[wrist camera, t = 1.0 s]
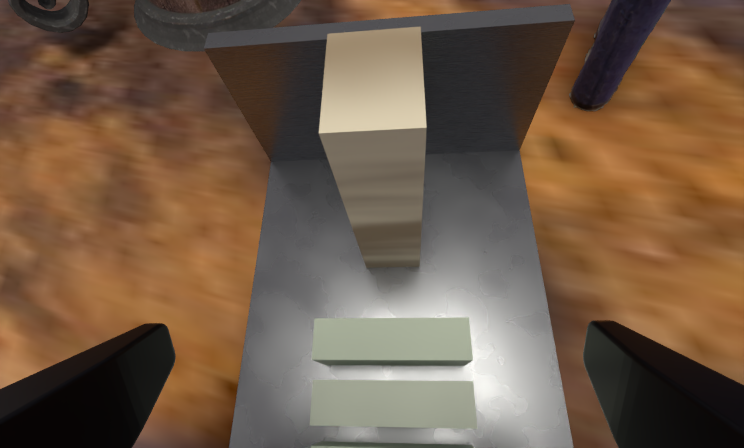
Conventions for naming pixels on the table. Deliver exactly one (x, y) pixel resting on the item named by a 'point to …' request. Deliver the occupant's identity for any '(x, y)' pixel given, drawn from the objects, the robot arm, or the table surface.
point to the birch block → (377, 138)
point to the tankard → (168, 18)
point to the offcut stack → (388, 397)
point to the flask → (614, 50)
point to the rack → (438, 233)
